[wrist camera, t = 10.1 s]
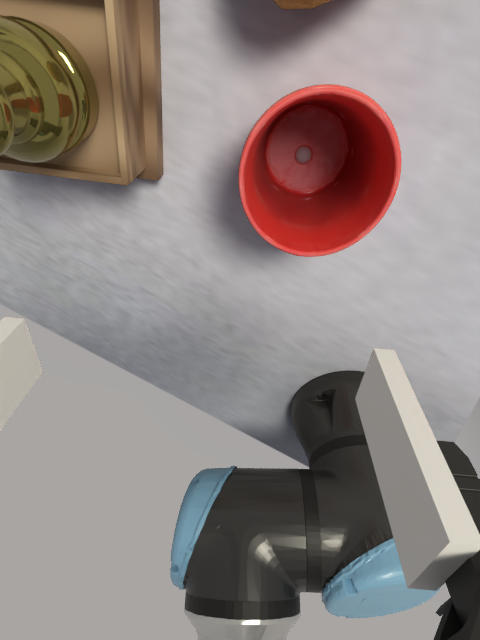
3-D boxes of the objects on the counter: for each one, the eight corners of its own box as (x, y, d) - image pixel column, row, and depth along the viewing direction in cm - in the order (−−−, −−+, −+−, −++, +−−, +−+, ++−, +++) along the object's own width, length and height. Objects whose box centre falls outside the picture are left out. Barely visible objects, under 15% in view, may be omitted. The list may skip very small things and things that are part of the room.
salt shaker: (60, 169, 27) (-23, 219, 19) (-33, 77, 24) (-179, 90, 16) (123, 102, 24) (56, 127, 16) (27, -15, 21) (-116, -55, 13)
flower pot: (237, 204, 34) (230, 249, 27) (252, 66, 28) (248, 73, 20) (345, 218, 35) (369, 266, 27) (385, 84, 28) (432, 98, 20)
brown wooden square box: (163, 174, 33) (142, 200, 27) (22, 156, 33) (-29, 178, 27) (158, -17, 25) (128, -37, 19) (-27, -43, 25) (-115, -71, 19)
